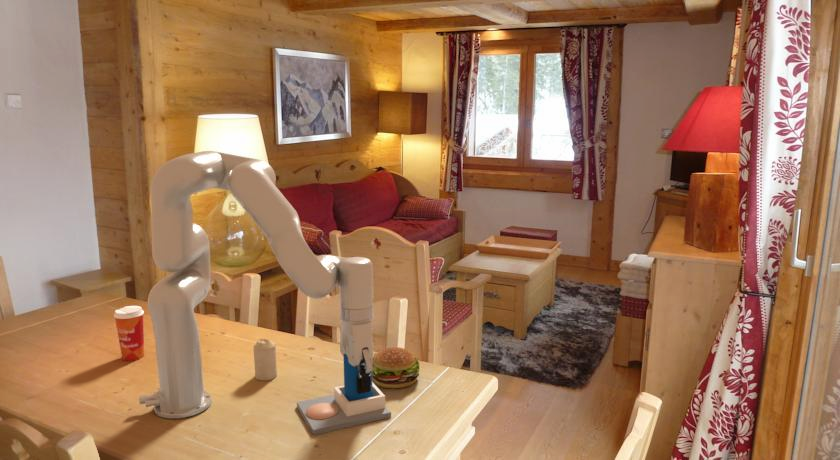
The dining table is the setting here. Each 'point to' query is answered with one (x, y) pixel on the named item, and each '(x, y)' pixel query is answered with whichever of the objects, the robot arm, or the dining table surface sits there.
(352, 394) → the beverage can
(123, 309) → the paper cup
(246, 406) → the dining table surface
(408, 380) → the food
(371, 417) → the board
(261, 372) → the candle
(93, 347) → the dining table surface
